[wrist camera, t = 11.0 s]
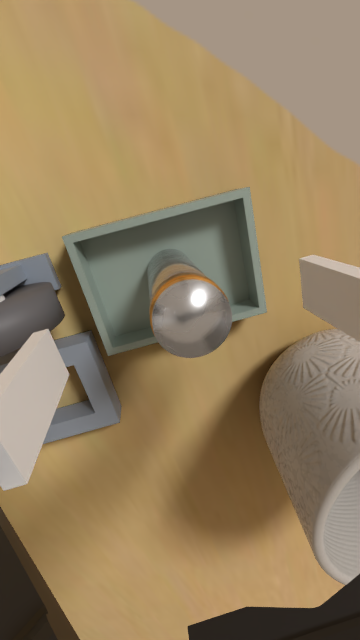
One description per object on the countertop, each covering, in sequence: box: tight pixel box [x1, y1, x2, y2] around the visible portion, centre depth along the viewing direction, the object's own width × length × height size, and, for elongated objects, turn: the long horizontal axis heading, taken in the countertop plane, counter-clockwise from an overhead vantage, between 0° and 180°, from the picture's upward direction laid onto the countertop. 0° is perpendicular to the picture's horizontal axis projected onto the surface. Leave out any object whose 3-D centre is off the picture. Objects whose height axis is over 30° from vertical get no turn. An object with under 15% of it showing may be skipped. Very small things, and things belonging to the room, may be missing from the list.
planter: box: [259, 329, 360, 585], centre depth 25 cm, size 17×17×15 cm
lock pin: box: [147, 249, 232, 358], centre depth 20 cm, size 4×4×12 cm
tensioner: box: [0, 253, 121, 444], centre depth 23 cm, size 9×17×10 cm, turn 14°
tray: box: [62, 187, 267, 356], centre depth 25 cm, size 14×10×3 cm
